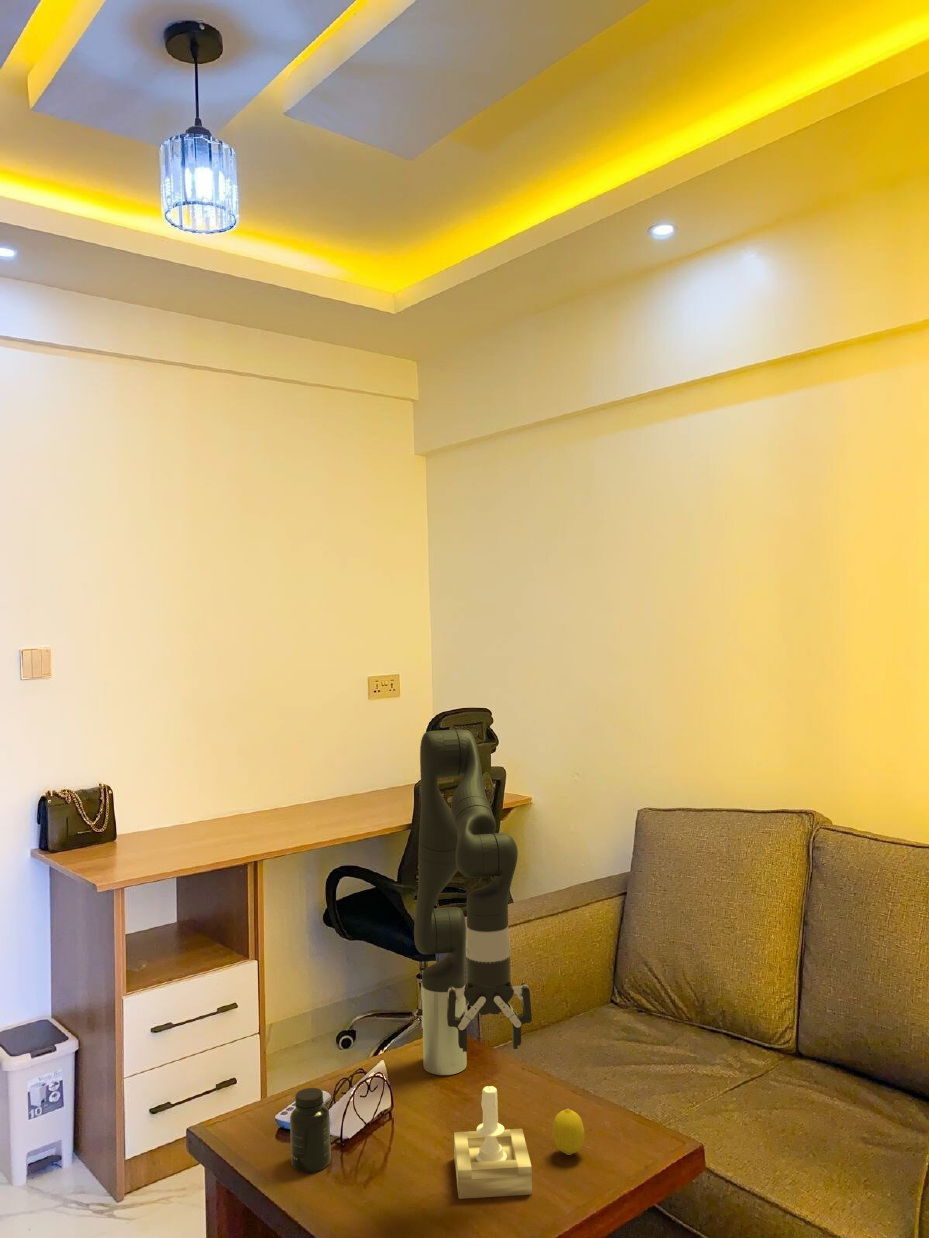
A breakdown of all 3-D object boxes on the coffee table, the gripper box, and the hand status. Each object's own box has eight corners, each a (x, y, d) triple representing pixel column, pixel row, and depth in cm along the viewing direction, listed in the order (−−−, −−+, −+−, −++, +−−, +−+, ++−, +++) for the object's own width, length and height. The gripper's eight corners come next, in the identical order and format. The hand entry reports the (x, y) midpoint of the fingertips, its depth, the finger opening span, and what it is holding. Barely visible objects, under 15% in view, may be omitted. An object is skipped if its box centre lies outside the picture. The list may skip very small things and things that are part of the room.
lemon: (549, 1160, 163) (548, 1114, 164) (557, 1144, 169) (556, 1099, 169) (580, 1166, 162) (579, 1119, 162) (587, 1149, 167) (586, 1103, 167)
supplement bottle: (315, 1148, 169) (314, 1080, 169) (338, 1162, 164) (337, 1092, 164) (283, 1163, 164) (282, 1093, 164) (305, 1178, 159) (304, 1107, 160)
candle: (483, 1169, 156) (481, 1095, 156) (470, 1153, 161) (469, 1082, 161) (512, 1161, 158) (510, 1089, 158) (498, 1145, 163) (497, 1075, 163)
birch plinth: (454, 1158, 165) (454, 1132, 165) (522, 1154, 166) (522, 1128, 166) (458, 1198, 153) (458, 1170, 153) (532, 1194, 154) (531, 1166, 154)
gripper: (526, 943, 164) (528, 1037, 164) (445, 946, 163) (446, 1040, 163) (532, 958, 157) (534, 1056, 156) (447, 961, 156) (448, 1060, 155)
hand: (489, 1048), depth 160 cm, fingers open, 8 cm apart
